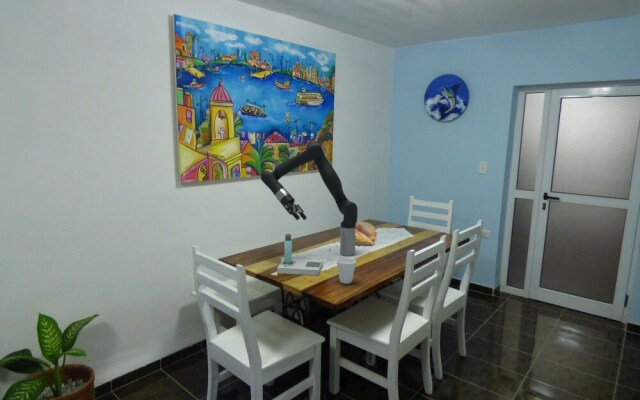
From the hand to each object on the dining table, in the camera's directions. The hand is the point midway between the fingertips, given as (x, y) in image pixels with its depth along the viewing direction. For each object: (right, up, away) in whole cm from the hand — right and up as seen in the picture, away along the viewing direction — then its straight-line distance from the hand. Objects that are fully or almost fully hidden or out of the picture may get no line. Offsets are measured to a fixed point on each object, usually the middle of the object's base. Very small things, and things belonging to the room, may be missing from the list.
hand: (302, 219), depth 209 cm
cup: (+23, -31, -22) cm, 44 cm away
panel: (-1, -27, -4) cm, 28 cm away
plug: (-8, -27, -3) cm, 28 cm away
